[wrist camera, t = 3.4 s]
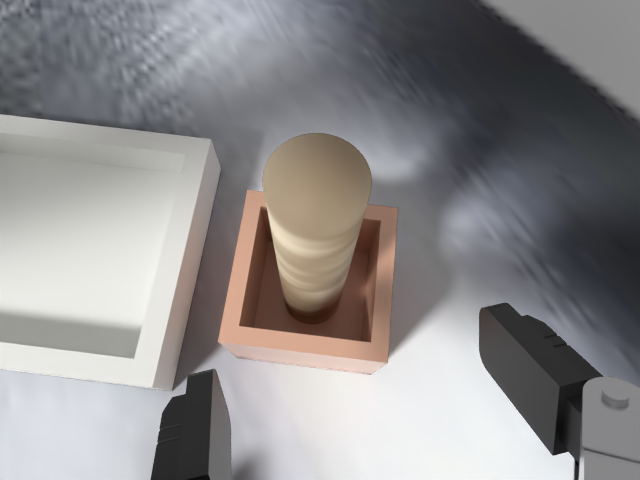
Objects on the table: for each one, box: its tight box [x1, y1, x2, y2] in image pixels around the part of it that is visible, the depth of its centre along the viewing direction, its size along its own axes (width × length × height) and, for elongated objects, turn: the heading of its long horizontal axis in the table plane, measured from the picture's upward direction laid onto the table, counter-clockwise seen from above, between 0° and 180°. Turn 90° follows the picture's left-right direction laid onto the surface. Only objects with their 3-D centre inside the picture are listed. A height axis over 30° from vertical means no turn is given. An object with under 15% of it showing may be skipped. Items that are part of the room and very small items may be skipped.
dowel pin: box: [263, 133, 372, 324], centre depth 20 cm, size 3×3×14 cm
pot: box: [218, 190, 398, 375], centre depth 25 cm, size 8×8×6 cm
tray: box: [0, 114, 221, 391], centre depth 27 cm, size 20×14×4 cm
